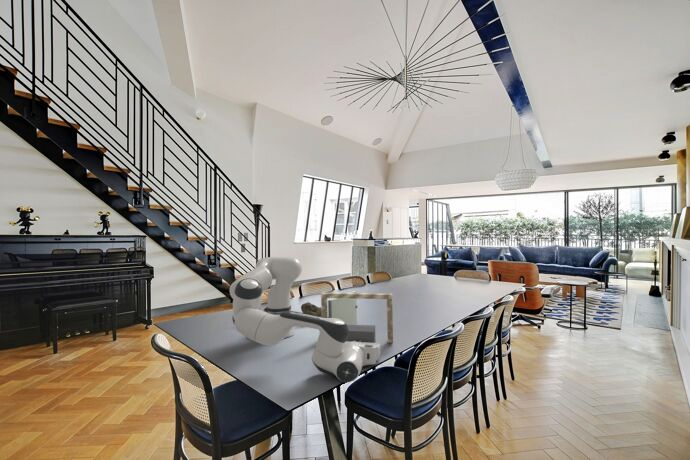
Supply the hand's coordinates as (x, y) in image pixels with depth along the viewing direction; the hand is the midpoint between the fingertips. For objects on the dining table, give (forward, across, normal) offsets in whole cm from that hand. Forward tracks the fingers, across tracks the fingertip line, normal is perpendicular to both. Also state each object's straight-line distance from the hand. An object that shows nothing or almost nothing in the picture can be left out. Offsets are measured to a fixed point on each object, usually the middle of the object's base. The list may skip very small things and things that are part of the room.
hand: (357, 342), depth 130 cm
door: (+26, -10, -4) cm, 29 cm away
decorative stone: (+44, -31, -4) cm, 54 cm away
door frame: (+14, -1, -4) cm, 15 cm away
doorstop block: (+5, -1, -4) cm, 7 cm away
